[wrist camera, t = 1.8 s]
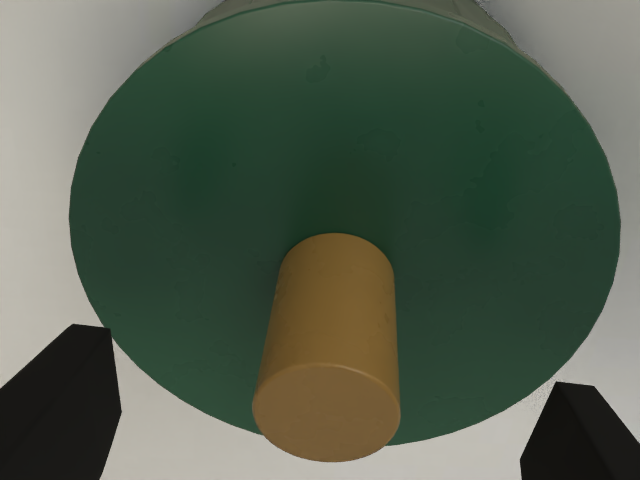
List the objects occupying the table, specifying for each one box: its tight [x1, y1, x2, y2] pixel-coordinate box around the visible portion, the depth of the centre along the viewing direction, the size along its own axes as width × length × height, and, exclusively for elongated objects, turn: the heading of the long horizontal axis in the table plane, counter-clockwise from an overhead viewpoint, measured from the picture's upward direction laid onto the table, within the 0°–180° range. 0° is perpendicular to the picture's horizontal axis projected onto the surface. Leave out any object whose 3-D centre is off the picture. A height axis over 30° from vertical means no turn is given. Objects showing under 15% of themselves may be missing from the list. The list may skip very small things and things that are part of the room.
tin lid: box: [69, 0, 621, 462], centre depth 12 cm, size 11×11×5 cm
